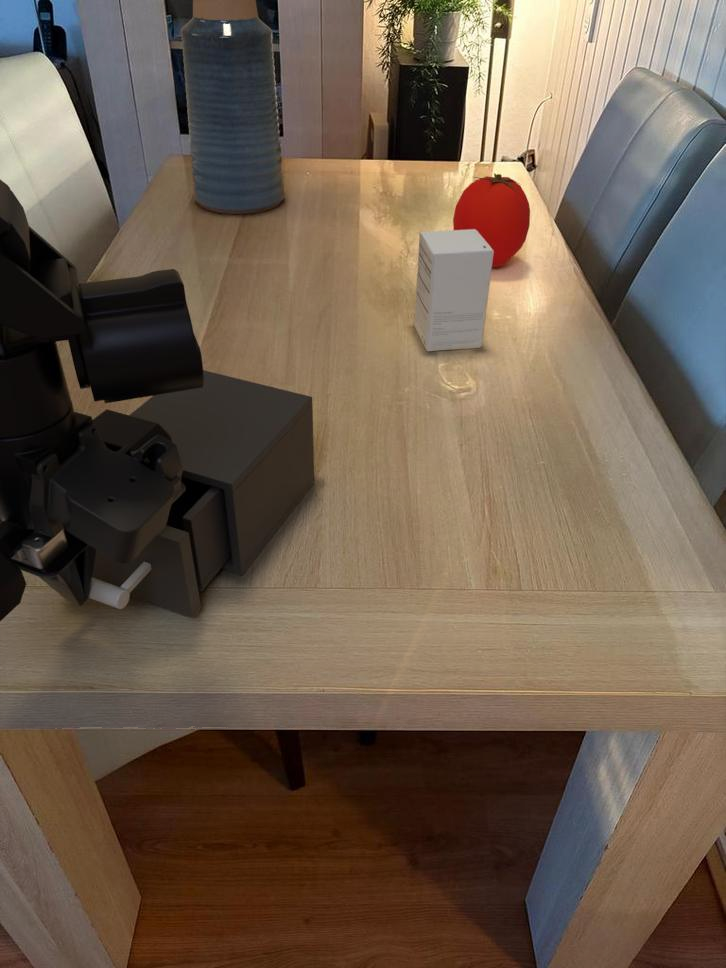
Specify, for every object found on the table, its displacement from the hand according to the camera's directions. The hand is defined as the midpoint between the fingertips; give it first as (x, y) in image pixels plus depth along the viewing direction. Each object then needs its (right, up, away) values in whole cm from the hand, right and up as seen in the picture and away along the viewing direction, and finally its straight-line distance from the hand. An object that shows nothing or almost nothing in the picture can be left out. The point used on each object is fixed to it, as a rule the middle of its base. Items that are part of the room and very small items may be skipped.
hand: (78, 601), depth 52 cm
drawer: (+3, +2, +9) cm, 10 cm away
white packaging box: (+30, +27, +44) cm, 59 cm away
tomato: (+39, +42, +63) cm, 85 cm away
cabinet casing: (+7, +6, +16) cm, 18 cm away
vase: (-3, +60, +84) cm, 103 cm away
